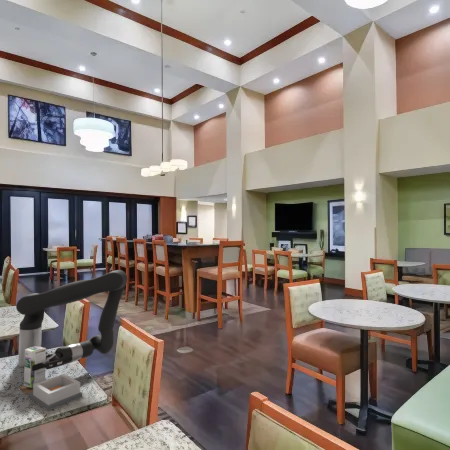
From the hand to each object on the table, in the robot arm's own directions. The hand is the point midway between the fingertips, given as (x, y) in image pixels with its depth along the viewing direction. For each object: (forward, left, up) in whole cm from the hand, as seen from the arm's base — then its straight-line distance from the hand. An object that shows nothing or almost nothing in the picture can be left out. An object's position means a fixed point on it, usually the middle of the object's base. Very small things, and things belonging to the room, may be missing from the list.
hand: (28, 366), depth 132 cm
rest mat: (0, +2, -10) cm, 10 cm away
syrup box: (0, +3, -8) cm, 9 cm away
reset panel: (+13, +4, -10) cm, 17 cm away
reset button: (+14, +4, -9) cm, 18 cm away
